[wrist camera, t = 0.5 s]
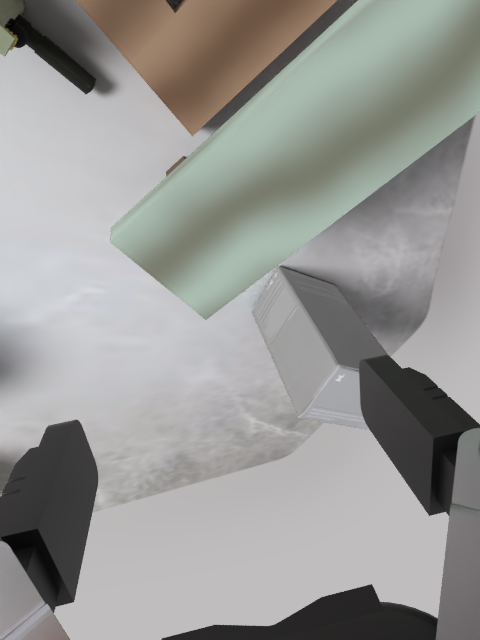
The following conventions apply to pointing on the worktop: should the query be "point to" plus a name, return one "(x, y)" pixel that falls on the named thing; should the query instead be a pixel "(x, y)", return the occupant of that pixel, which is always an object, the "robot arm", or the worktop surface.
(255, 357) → the worktop surface
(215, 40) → the stand
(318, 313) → the skincare box
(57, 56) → the handheld radio
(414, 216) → the worktop surface
